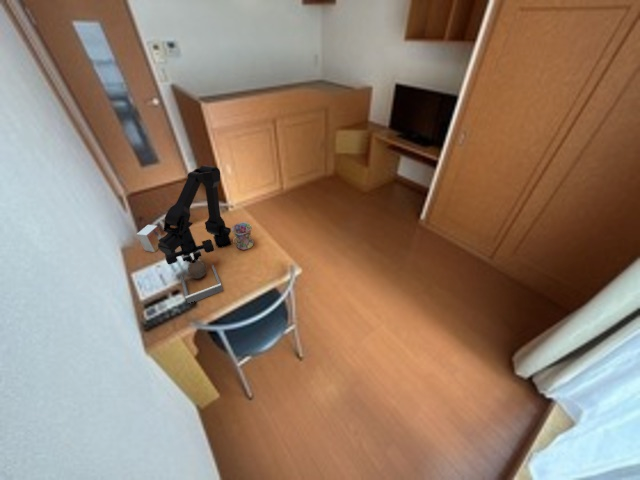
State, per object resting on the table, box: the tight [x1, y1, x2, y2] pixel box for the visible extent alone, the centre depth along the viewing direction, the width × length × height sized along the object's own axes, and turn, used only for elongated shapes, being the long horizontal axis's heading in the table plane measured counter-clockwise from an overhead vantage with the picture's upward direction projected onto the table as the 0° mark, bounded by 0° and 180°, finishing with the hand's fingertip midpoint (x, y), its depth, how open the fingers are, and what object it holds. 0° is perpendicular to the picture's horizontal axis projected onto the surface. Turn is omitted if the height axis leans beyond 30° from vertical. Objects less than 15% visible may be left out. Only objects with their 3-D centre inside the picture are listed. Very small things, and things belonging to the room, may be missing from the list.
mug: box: [231, 222, 255, 251], centre depth 129 cm, size 12×9×11 cm
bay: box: [180, 264, 224, 304], centre depth 111 cm, size 14×14×4 cm
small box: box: [136, 224, 164, 253], centre depth 129 cm, size 8×6×10 cm
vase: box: [187, 258, 207, 280], centre depth 114 cm, size 7×7×9 cm
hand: (195, 264), depth 119 cm, fingers closed, pressing on vase
